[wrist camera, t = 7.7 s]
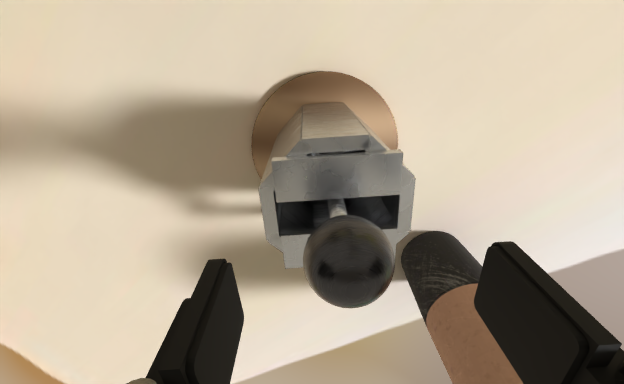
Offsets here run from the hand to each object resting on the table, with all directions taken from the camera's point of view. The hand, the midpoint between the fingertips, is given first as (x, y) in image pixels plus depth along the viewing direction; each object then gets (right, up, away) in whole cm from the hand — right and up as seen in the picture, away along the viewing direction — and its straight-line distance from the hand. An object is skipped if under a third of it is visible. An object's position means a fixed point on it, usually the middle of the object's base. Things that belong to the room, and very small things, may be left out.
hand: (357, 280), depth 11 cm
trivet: (0, +8, +18) cm, 19 cm away
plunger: (0, +6, +14) cm, 15 cm away
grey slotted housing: (0, +6, +18) cm, 19 cm away
